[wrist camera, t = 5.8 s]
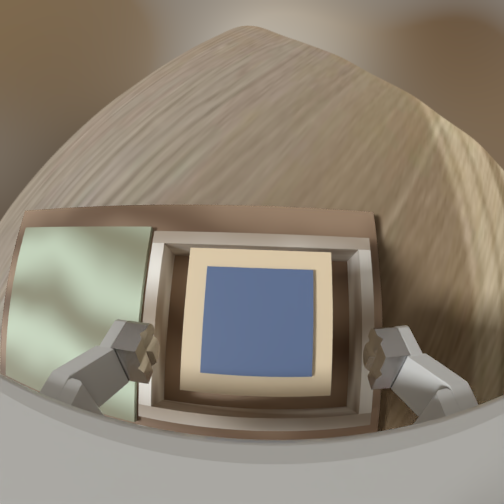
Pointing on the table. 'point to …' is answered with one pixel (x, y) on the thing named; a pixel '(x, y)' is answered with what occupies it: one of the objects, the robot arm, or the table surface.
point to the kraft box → (258, 323)
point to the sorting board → (173, 304)
